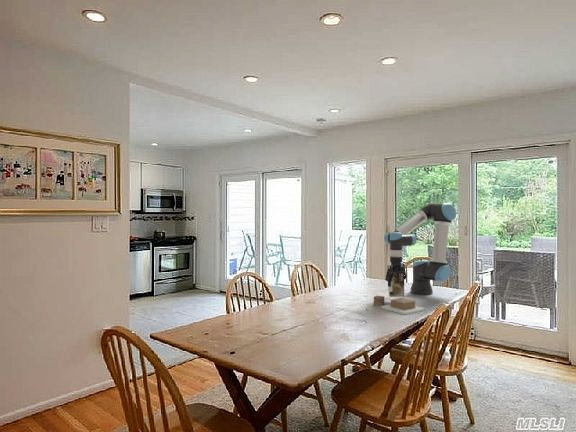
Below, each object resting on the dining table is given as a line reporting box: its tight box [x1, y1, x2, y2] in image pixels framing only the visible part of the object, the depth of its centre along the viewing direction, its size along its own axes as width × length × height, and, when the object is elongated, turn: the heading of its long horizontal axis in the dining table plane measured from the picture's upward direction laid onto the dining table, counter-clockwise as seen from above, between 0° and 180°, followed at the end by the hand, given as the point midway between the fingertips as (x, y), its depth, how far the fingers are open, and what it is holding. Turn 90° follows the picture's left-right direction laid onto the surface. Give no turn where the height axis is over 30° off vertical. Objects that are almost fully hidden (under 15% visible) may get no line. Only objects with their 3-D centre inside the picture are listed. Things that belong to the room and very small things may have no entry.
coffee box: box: [388, 271, 405, 298], centre depth 253 cm, size 9×6×16 cm
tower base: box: [380, 297, 426, 316], centre depth 236 cm, size 18×18×5 cm
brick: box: [373, 295, 385, 307], centre depth 248 cm, size 5×5×5 cm
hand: (396, 290), depth 254 cm, fingers closed on coffee box, 10 cm apart
